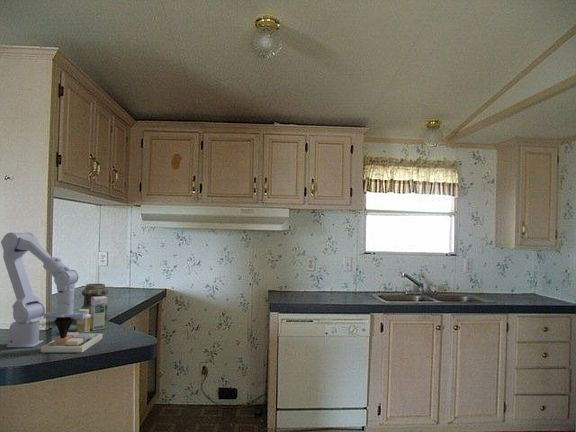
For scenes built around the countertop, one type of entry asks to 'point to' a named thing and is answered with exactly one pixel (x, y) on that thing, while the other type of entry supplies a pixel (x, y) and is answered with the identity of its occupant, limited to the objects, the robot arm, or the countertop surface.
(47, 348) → the cream shallow tray
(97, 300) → the syrup box
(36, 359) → the countertop surface
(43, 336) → the countertop surface
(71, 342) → the block
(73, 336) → the key rose
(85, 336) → the key slate
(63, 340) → the key terracotta
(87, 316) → the supplement bottle
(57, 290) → the robot arm
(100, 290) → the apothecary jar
